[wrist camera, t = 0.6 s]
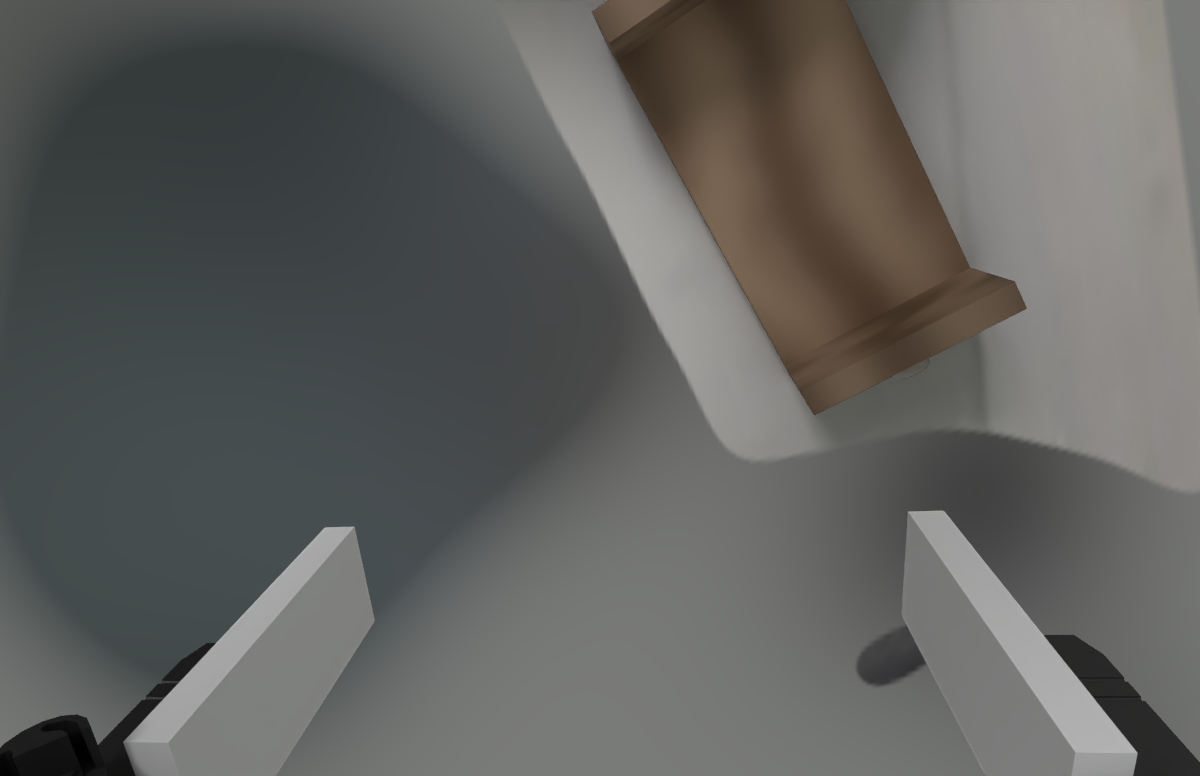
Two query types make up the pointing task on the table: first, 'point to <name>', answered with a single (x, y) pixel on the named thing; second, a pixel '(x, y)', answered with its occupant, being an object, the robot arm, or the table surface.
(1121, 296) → the table surface
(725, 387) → the table surface
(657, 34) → the walnut holder
